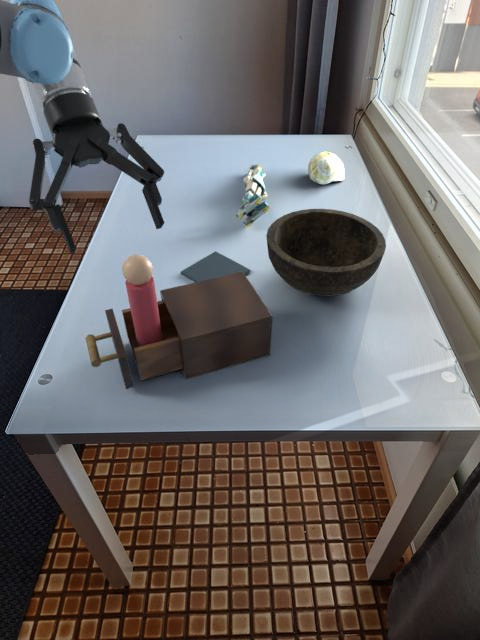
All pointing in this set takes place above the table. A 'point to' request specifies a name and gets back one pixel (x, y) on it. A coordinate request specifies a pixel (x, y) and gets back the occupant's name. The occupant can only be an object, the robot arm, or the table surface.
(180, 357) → the drawer
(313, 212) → the bowl
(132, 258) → the ball-topped pink peg
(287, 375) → the table surface
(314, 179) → the seashell
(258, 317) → the cabinet
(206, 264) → the mat
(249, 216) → the figurine
